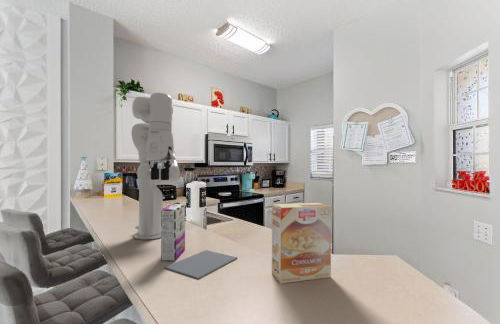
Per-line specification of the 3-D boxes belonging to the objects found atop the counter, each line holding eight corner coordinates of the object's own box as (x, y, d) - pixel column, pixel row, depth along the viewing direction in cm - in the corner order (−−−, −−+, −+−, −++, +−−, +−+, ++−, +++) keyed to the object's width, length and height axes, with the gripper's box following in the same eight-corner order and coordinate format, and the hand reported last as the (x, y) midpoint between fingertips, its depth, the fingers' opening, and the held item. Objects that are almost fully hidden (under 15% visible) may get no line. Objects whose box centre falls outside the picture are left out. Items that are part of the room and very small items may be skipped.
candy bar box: (171, 249, 90) (172, 204, 90) (185, 249, 90) (185, 204, 90) (159, 261, 79) (160, 209, 79) (175, 261, 79) (176, 209, 79)
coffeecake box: (280, 284, 63) (280, 207, 64) (270, 273, 70) (271, 203, 71) (332, 277, 67) (331, 205, 68) (318, 267, 74) (318, 201, 75)
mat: (164, 268, 73) (164, 266, 73) (206, 251, 88) (206, 250, 88) (198, 279, 66) (198, 277, 66) (237, 258, 81) (237, 257, 81)
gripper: (136, 129, 91) (135, 179, 90) (168, 125, 82) (167, 181, 81) (154, 131, 97) (153, 178, 96) (185, 128, 88) (184, 180, 88)
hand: (159, 179), depth 89 cm, fingers open, 4 cm apart
